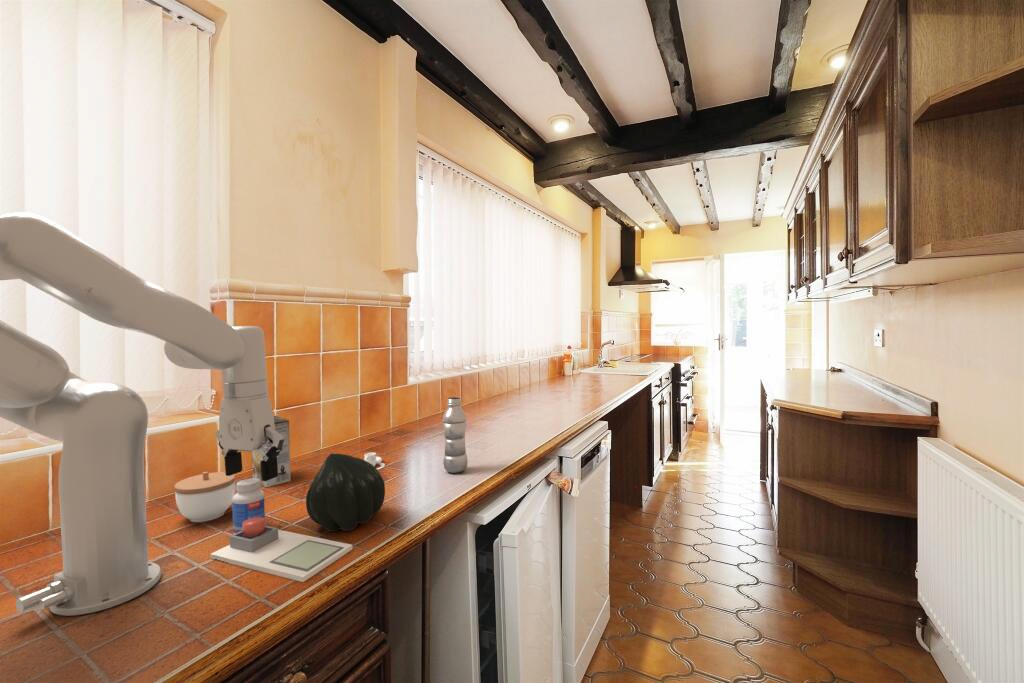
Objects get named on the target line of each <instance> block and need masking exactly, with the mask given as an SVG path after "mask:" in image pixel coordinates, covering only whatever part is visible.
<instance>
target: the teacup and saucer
mask: <svg viewBox="0 0 1024 683" xmlns="http://www.w3.org/2000/svg"><path fill="white" fill-rule="evenodd" d="M363 456H364V459H363V460H365V461H367V462H369V463H370V464H372V465H373V466H374V467H375V468H376V465H380V466H379V467H377V468H376V469H377V470H378V471H379V470H381V469H383V468H385V466H386V464H385V463H384V462H382V461H383V459H382V457H381V456H377V453H376V452H367V453H364V455H363Z"/></svg>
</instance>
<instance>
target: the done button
mask: <svg viewBox="0 0 1024 683" xmlns="http://www.w3.org/2000/svg"><path fill="white" fill-rule="evenodd" d="M266 526H267V525H266V517H265V518H264V517H254V518H250V519H247V520H245V521H244V522H243V523H242V530H243V536H245V537H252V536H257V535H260V534H262V533H264V532H265V530H266Z"/></svg>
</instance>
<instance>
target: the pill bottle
mask: <svg viewBox="0 0 1024 683" xmlns="http://www.w3.org/2000/svg"><path fill="white" fill-rule="evenodd" d="M260 487H261V484H260V479H257V478H253V477H252V478H245V479H241V480H239V481H237V482H236V487H235V490H236V492H235V495H234V496H233V499H232V503H231V505H232V533H233V534H232V535H234V534H236V533H238V532H240V531H242V523H243V522H244V521H245V520H247V519H250V518H254V517H264V518H265V519H266V517H265V516H266V514H265V512H266V511H265V510H266V509H265V492H264V491H263V490H262V489H260Z"/></svg>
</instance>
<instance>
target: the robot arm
mask: <svg viewBox="0 0 1024 683" xmlns="http://www.w3.org/2000/svg"><path fill="white" fill-rule="evenodd" d="M11 280H21V281H23V282H25V283H27V284H29V285H31V286H32V287H35V288H36V289H38V290H39V291H42V292H44V293H46V294H47V295H50V296H52V297H53V298H55V299H57V300H58V301H60V302H62V303H64V304H66V305H68V306H69V307H72V308H73V309H75V310H77V311H78V312H81V313H82V314H84V315H86V316H87V317H89V318H91V319H93V320H95V321H98V322H101V323H103V324H106V325H109V326H112V327H114V328H119V329H123V330H128V331H133V332H137V333H141V334H145V335H148V336H151V337H153V338H156V339H159V340H161V341H163V342H164V346H163V348H164V350H163V351H164V354H165V356H166V358H167V359H168V361H170V362H171V363H172V364H174V365H175V366H177V367H180V368H184V369H190V370H215V371H221V382H222V384H221V385H222V398H221V399H220V406H219V421H218V426H219V427H218V428H219V429H218V430H217V431H215V436H216V439H217V441H218V447H220V449H221V454H222V456H223V457H224V470H225V471H224V472H225V473H226V476H231V475H233V474H235V475H236V474H238V473H241V472H242V471H243V458H242V452H249V453H250V452H251V453H252V452H253V451H256V450H257V451H258V452H259V454H260V455H261V457H262V459H263V460H262V461H261V462H260V464H261V478H262V481H268V480H270V479H273V478H275V477H277V476H278V466H277V457H278V456H279V453H280V451H281V450H282V446H283V443H284V440H285V438H284V436H283V435H281V434H280V433H278V432H277V431H276V430H275V424H274V417H273V416H274V412H273V406H272V403H271V399H270V396H269V387H268V386H269V385H268V373H267V358H266V357H267V356H266V344H265V340H266V339H265V332H264V330H263V328H262V327H260V326H258V325H238V326H231V325H230V324H228V323H227V322H225V321H224V320H223V319H222V318H219V317H218V316H217V315H215V314H214V313H212V312H211V311H209V310H207V309H206V308H204V307H202V306H201V305H199V304H198V303H195V302H193V301H191V300H189V299H187V298H185V297H182V296H181V295H178V294H176V293H174V292H171V291H170V290H167V289H165V288H164V287H161V286H159V285H156V284H154V283H152V282H149V281H147V280H145V279H143V278H141V277H139V276H138V275H136V274H135V273H133V272H132V271H130V270H128V269H127V268H125V267H123V266H122V265H121V264H119V263H118V262H116V261H115V260H113V259H112V258H110V257H108V256H107V255H105V254H104V253H103V252H101V251H99V250H98V249H96V248H94V247H93V246H92V245H90V244H88V243H87V242H86V241H83V239H81V238H79V237H78V236H76V235H75V234H73V233H72V232H70V231H68V230H67V229H65V228H64V227H63V226H61V225H59V224H58V223H56V222H54V221H53V220H50V219H48V218H46V217H44V216H41V215H38V214H35V213H31V212H13V213H5V214H2V215H0V281H11ZM148 412H149V411H148V408H147V405H146V402H145V401H144V400H143V398H142V397H141V395H139V393H137V392H136V391H135V390H133V389H131V388H130V387H127V386H124V385H122V384H118V383H112V382H102V381H91V380H90V381H89V380H86V379H84V378H82V377H80V376H79V375H77V374H75V373H73V372H71V371H70V367H69V364H68V363H67V361H66V360H65V358H64V357H63V356H62V355H61V354H60V353H59V352H58V351H57V350H55V349H54V348H52V347H51V346H49V345H48V344H45V343H43V342H41V341H39V340H38V339H35V338H33V337H31V336H29V335H28V334H26V333H24V332H22V331H20V330H19V329H17V328H15V327H14V326H11V325H10V324H8V323H6V322H5V321H2V320H1V319H0V418H2V419H4V420H6V421H8V422H10V423H13V424H16V425H18V426H20V427H22V428H25V429H27V430H29V431H31V432H34V433H35V434H38V435H41V436H43V437H46V438H48V439H51V440H55V441H59V442H62V451H61V456H60V462H59V468H58V481H57V482H58V483H57V485H58V498H59V510H60V511H59V513H60V514H59V516H60V534H61V536H60V537H61V552H62V554H61V555H62V570H63V571H59V572H57V573H55V574H54V576H53V580H54V581H53V582H49V583H47V585H46V586H45V587H44V588H42V589H39V590H37V591H32V592H30V593H28V594H25V595H24V596H21V597H18V598H17V599H16V601H15V606H16V610H17V612H18V613H21V614H22V613H23V612H26V611H28V610H31V609H34V608H36V607H38V606H39V608H40V609H41V610H45V609H48V608H49V610H50V612H51V613H52V614H54V615H55V614H56V615H57V616H65V617H66V616H67V617H68V616H70V617H71V616H81V615H87V614H92V613H96V612H99V611H103V610H107V609H110V608H113V607H116V606H119V605H121V604H124V603H126V602H129V601H131V600H133V599H135V598H137V597H139V596H141V595H142V594H145V593H146V592H147V591H148V590H150V589H151V588H153V587H154V586H156V584H157V583H158V582H159V581H160V579H161V576H162V568H161V566H160V564H157V563H155V562H151V561H149V554H148V553H149V552H148V550H149V549H148V530H147V505H146V486H145V466H144V465H145V464H144V461H145V460H144V459H145V455H144V454H145V445H146V444H145V442H146V436H147V431H148V425H149V423H148V422H149V413H148ZM265 448H268V449H269V451H268V452H266V450H265ZM241 451H242V452H241Z"/></svg>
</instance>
